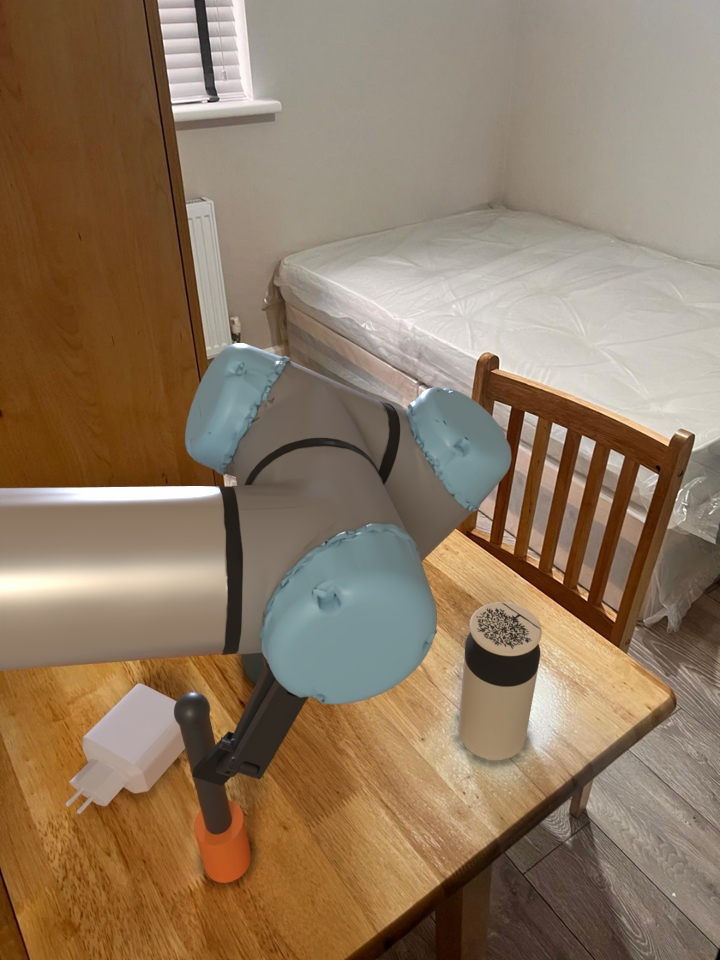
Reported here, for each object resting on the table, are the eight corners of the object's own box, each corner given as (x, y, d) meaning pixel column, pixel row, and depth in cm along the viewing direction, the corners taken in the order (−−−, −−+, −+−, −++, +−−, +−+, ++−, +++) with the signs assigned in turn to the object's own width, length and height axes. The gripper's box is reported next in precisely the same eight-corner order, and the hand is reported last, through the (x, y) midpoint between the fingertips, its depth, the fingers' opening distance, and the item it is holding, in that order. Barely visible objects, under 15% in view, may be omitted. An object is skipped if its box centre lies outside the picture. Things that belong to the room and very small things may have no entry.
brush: (223, 893, 72) (182, 733, 58) (194, 860, 75) (148, 700, 61) (260, 858, 75) (230, 697, 61) (231, 827, 78) (195, 667, 64)
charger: (48, 803, 81) (143, 705, 91) (108, 842, 77) (200, 735, 88) (36, 777, 78) (136, 680, 89) (98, 817, 74) (194, 710, 85)
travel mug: (487, 774, 83) (501, 667, 72) (444, 724, 88) (452, 618, 78) (539, 741, 86) (560, 634, 76) (495, 695, 92) (508, 589, 81)
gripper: (391, 734, 45) (239, 859, 57) (385, 480, 65) (272, 612, 76) (286, 694, 43) (148, 834, 54) (312, 443, 62) (207, 585, 74)
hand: (220, 705), depth 65 cm, fingers open, 13 cm apart
